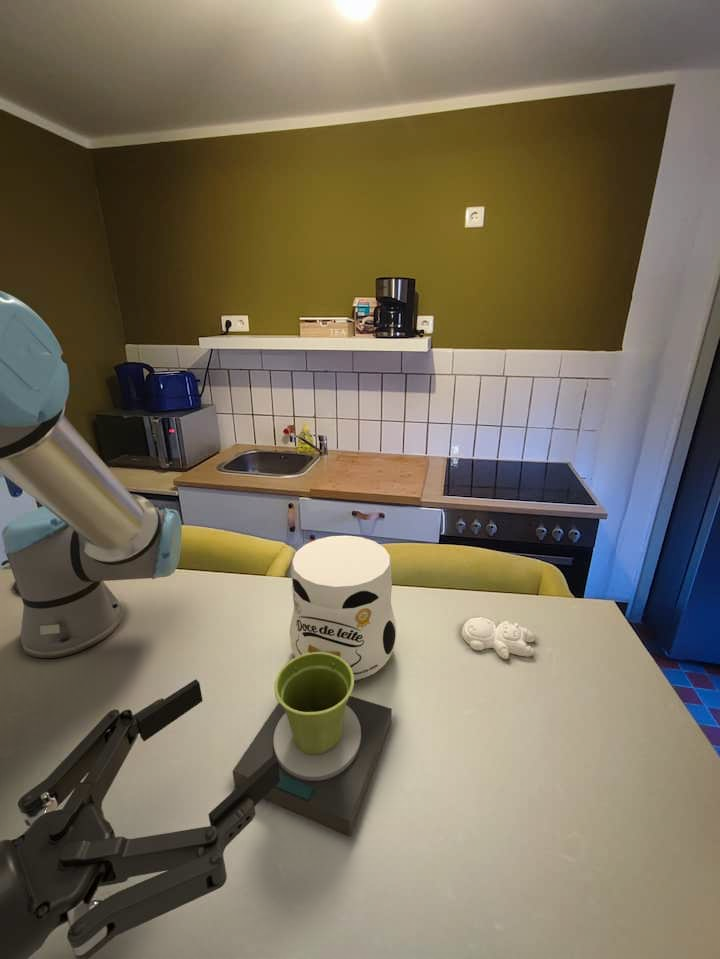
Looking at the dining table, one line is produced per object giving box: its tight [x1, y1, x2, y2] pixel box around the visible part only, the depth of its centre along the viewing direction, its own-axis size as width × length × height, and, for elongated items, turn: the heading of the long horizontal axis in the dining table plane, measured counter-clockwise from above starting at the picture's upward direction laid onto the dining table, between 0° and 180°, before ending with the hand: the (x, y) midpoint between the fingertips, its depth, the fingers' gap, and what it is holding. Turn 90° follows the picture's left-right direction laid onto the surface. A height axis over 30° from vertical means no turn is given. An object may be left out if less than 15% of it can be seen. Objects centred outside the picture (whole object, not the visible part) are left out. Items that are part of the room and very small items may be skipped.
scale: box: [231, 695, 393, 837], centre depth 55 cm, size 15×15×3 cm
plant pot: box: [274, 652, 355, 755], centre depth 52 cm, size 9×9×9 cm
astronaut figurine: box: [461, 616, 536, 660], centre depth 74 cm, size 9×12×3 cm
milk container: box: [289, 535, 397, 682], centre depth 69 cm, size 17×17×18 cm
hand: (234, 725), depth 43 cm, fingers open, 13 cm apart
